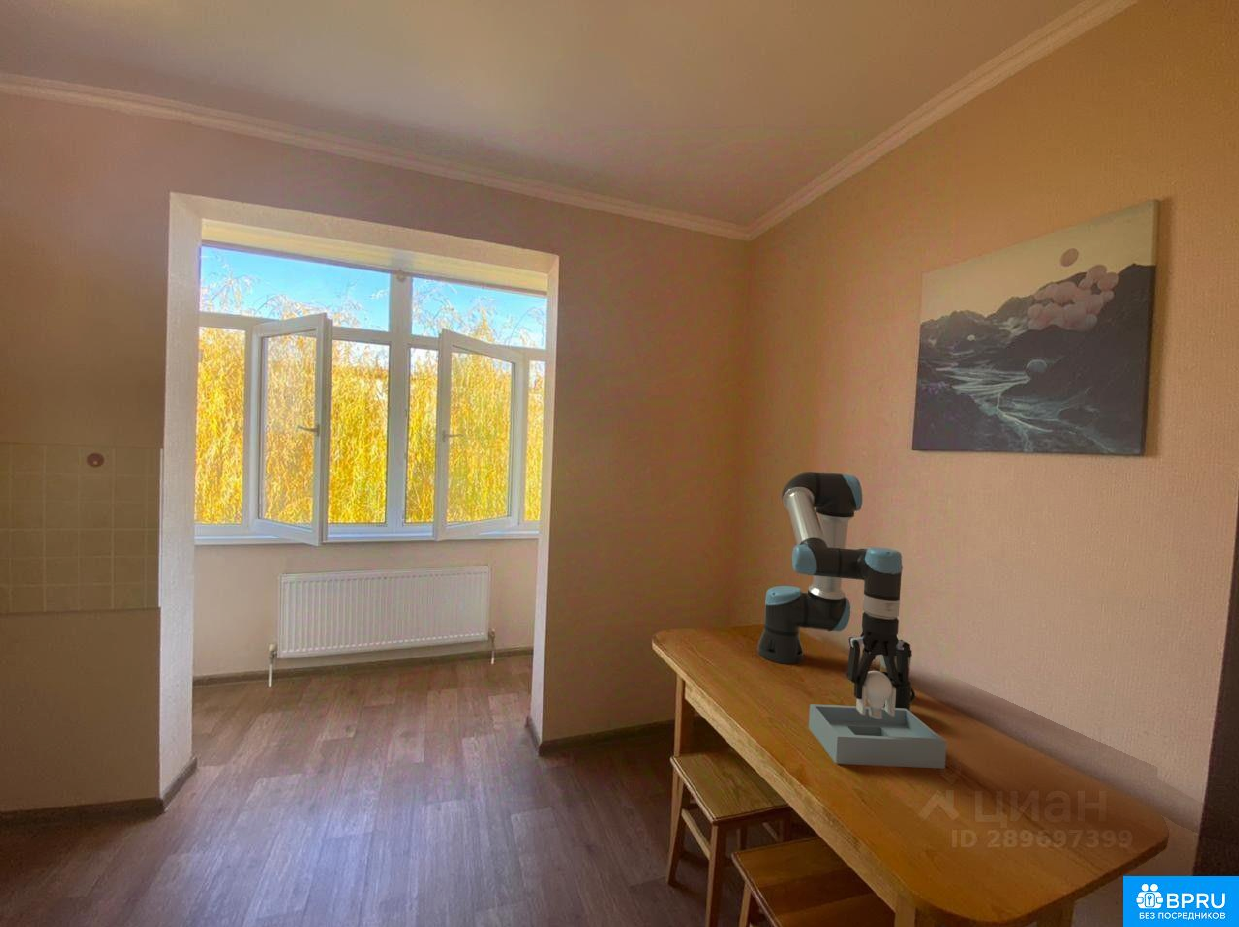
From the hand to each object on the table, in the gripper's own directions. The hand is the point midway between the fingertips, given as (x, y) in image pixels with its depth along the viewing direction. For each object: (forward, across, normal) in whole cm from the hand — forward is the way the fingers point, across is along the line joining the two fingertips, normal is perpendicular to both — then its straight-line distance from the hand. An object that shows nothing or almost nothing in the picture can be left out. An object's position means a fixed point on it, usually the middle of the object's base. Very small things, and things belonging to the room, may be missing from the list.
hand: (875, 712), depth 111 cm
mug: (+8, +16, +17) cm, 25 cm away
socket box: (+8, 0, 0) cm, 8 cm away
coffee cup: (+8, +22, +27) cm, 36 cm away
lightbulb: (+2, 0, 0) cm, 2 cm away
